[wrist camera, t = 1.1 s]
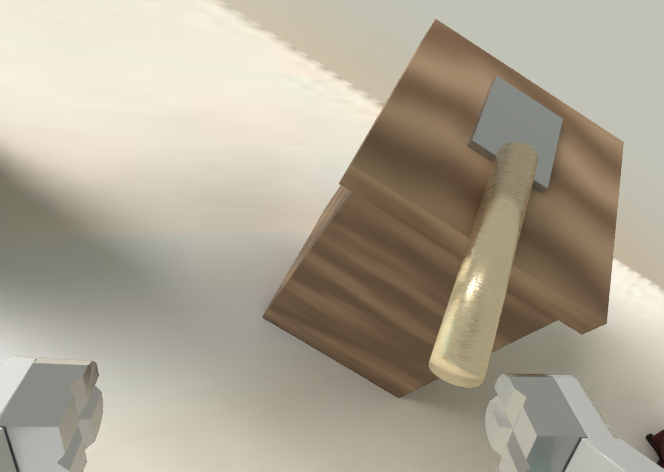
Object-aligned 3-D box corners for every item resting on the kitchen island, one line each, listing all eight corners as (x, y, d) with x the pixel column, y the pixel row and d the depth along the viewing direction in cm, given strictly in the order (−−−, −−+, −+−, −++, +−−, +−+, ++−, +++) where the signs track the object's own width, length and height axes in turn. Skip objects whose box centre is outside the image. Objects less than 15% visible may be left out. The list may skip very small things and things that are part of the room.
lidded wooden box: (403, 411, 52) (606, 323, 31) (248, 320, 51) (351, 164, 30) (449, 275, 63) (623, 142, 42) (322, 197, 62) (435, 18, 41)
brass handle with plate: (492, 410, 26) (527, 398, 23) (389, 348, 25) (415, 330, 23) (557, 123, 40) (582, 100, 38) (491, 81, 39) (513, 55, 37)
